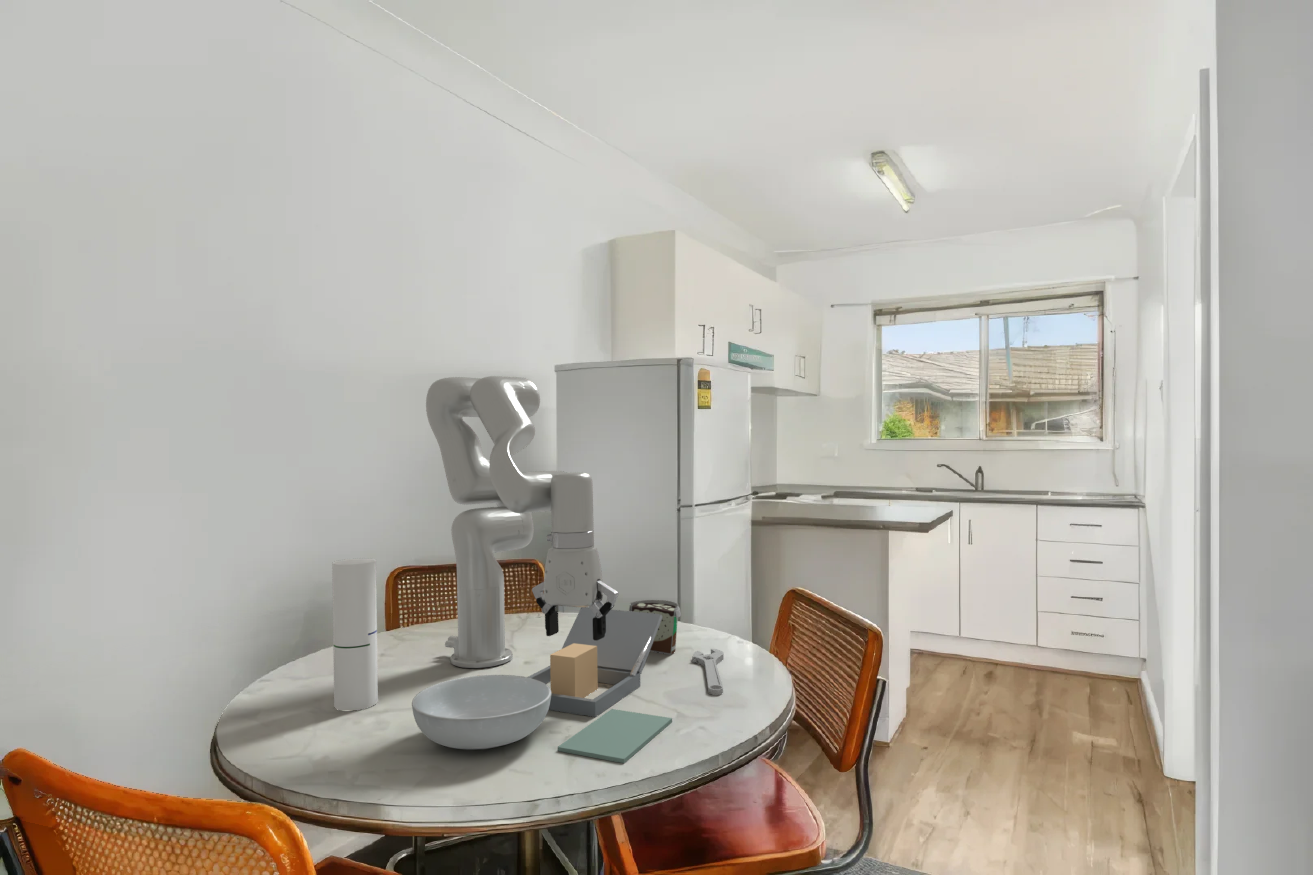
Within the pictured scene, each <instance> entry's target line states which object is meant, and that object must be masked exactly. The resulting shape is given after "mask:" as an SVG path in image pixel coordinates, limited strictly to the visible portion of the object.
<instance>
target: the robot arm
mask: <svg viewBox="0 0 1313 875" xmlns="http://www.w3.org/2000/svg"><path fill="white" fill-rule="evenodd" d="M540 404H541V396H540V391H539V389H538V388H537V386H536V384H535V383H534V382H533V381H531V380H530V379H529V378H526V377H516V376H499V375H491V376H485V377H481V378H478V377H477V378H476V377H464V376H463V377H462V376H461V377H460V376H450V377H444V378H439V379H437V380H435V381H434V382H433V383H432V384H431V385H430V386H429V388H428V390H427V393H426V400H425V408H426V410H425V411H426V416H427V420H428V423H429V426H430V429H431V431H432V433H433V435H434V438H435V439H436V441H437V444H438V446H439V449H440V450H439V451H440V454H441V460H442V464H443V468H444V472H445V477H446V482H447V486H448V489H449V492H450V495H451V498H452V500H453V502H455V503H457V504H460V505H464V506H465V505H466V506H467V505H470V506H471V505H484V504H496V506H490V507H488V506H487V507H479V508H478V507H477V508H471V509H467V510H464V511H462V512H460V513H459V514H457V515H456V516H455V518H454V519H453V521H452V523H451V529H450V531H451V539H452V545H453V548H454V549H453V550H454V556H455V563H456V587H457V589H456V590H457V636H456V635H450V636H448V638H447V640H446V641H445V642H444V646H445V647H446V648H452V649H453V653H452V654H451V656H450V663H451V664H452V665H453V666H456V667H460V668H464V669H479V668H480V669H482V668H489V667H490V668H491V667H495V666H499V665H504V664H506V663H508V662H510V661H511V660H512V658H514V657H513V651H512V650H511V649H510V648H507V647H506V643H505V642H506V639H505V638H506V637H505V636H506V634H505V633H506V632H505V577H504V571H503V568H502V567H501V565H500V564H499V562H498V561H497V559H496V557H495V556H494V554H495V553H499V552H507V551H513V550H514V551H515V550H520V549H521V550H522V549H523V548H526V547H527V546H528V545H530V543H531V542H532V540H533V537H534V533H535V532H534V531H535V530H534V529H535V528H534V527H535V526H534V521H533V515H532V513H538V512H540V513H541V512H545V513H546V512H551V513H550V514H551V515H550V516H551V531H550V532H551V533H548V534H547V535H546V541H547V542H550V543H551V547H550V548H548V549H547V553H546V560H545V565H544V577H543V581H542V582H541V583H539V584H537V585H535V586H533V587H532V589H531V591H532V593H533V596H534V598H535V599H536V604H537V605H538V607H540V609H541V612H542V614H544V627H545V635H546V637H551V636H553V635H556V634H557V633H559V631H560V630H559V629H560V628H559V612H558V610H556V608H557V607H558V606H559V607H569V608H581V607H589V608H590V609H591V610H592V612H593V613H594V615H595V617H594V618H593V640H595V641H598V640H600V639H602V638H604V637H605V633H606V615H607V614H608V612H609V611H610V610H613V608H614V606H615V603H616V602H617V599H618V597H619V591H617V590H616V589H614V588H613V587H611V586H609V585H607V584H606V583H605V582H603V573H602V565H601V561H600V560H601V559H600V555H599V554H600V553H599V552H598V548H597V547H595V535H594V534H595V532H594V531H595V530H594V527H595V526H594V525H595V524H594V491H593V488H594V487H593V479H592V476H591V475H590V474H589V473H587V472H583V471H582V472H578V471H577V472H576V471H575V472H574V471H573V472H572V471H570V472H568V471H564V470H563V471H562V470H542V471H541V470H539V471H537V470H536V471H523V472H521V471H520V469H519V468H518V466H517V465H516V464H515V462H514V461H513V459H512V456H514V455H516V454H517V453H519V452H522V450H524V449H526V448H527V446H528V445H530V444H531V443H532V441H533V439H534V437H535V435H536V428H535V425H534V423H533V422H532V420H531V419H530V418H531V417H533V416H535V414H536V413H537V412H538V410H539V409H540V408H539V407H540ZM463 418H479V420H480V421H481V423H482V425H483V426H484V428H485V431H486V432H487V434H488V436H489V437H490V439H491V441H492V443H493V444H494V445H493V448H492V449H491V453H490V456H489V458H488V459H487V458H486V457H485V455H484V452H483V449H482V444H481V441H480V438H479V436H478V435H477V434H476V432H475V431H474V429H473V428H472V427H471V426H470V425H469V424H468V423H467V422H466V421H464V419H463ZM604 595H605V596H606V597H607V598H606V601H605V602H603V598H604Z"/></svg>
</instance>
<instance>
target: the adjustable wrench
mask: <svg viewBox="0 0 1313 875" xmlns="http://www.w3.org/2000/svg"><path fill="white" fill-rule="evenodd" d="M724 653H725V652H724V651H722V650H720V649H715V648H710V653H707V654H704V653H703V652H702V651H700V650H696V651H694V652H693V654H692V655H693V656H691V658H692V659H691V663H694V664H698V663H700V664H699V665H700V666H701V665H702V666H703V667H704V669H705V677H706V684H707V691H708V694H709V695H711V694H712V695H711V696H720V694H721V695H723V694H724V686H723V681H722V679H721V675H720V671H719V669H718V664H720V663H721V662H722V660H723V661H724V659H725V658H724V656H725V655H724ZM722 693H723V694H722Z"/></svg>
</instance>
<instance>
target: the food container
mask: <svg viewBox="0 0 1313 875" xmlns="http://www.w3.org/2000/svg"><path fill="white" fill-rule="evenodd" d="M628 611H632V612H643V613H654V614H661V615H662V620H661V622H660V625H659V628H658V630H657V633H656V636H655V638H654V641H653V644H652V646H651V649H650V652H651V651H653V652H652V653H657V652H659V653H658V654H663V653H664V655H670V656H672V655H674V654H675V653H676V646H677V635H678V634H677V631H678V622H679V621H678V619H679V618H680V617H681V616H682V613H681V608H680V606H679V604H678V603H677V602H675V601H672V600H664V599H645V600H644V599H641V600H637V601H632V602H630V605H629V608H628ZM674 652H675V653H674Z"/></svg>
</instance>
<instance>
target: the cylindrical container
mask: <svg viewBox="0 0 1313 875" xmlns="http://www.w3.org/2000/svg"><path fill="white" fill-rule="evenodd" d="M331 564H332V565H331V566H332V568H331V569H332V570H331V572H332V573H331V574H332V577H331V578H332V630H333V631H332V638H333V639H332V645H333V646H332V647H333V652H332V653H333V697H334V698H333V708H334V707H335V708H336V709H338V710H337V711H339V710H357V711H361V710H360V709H363V710H365V709H364V708H367V707H370V706H372V707H374V706H376V705H377V704H378V703H379V691H378V690H379V687H378V686H379V684H378V681H379V680H378V679H379V675H378V674H379V673H378V672H379V668H378V623H377V622H378V613H377V608H378V607H377V605H378V604H377V600H378V599H377V597H378V596H377V595H378V594H377V559H376V558H373V557H372V558H371V557H370V558H369V557H357V558H345V559H339V560H334V561H333V562H332V563H331ZM377 702H378V703H377ZM376 703H377V704H376ZM375 704H376V705H375ZM373 705H374V706H373ZM335 708H334V709H335ZM370 708H371V707H370ZM336 709H335V710H336ZM367 709H368V708H367Z"/></svg>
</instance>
